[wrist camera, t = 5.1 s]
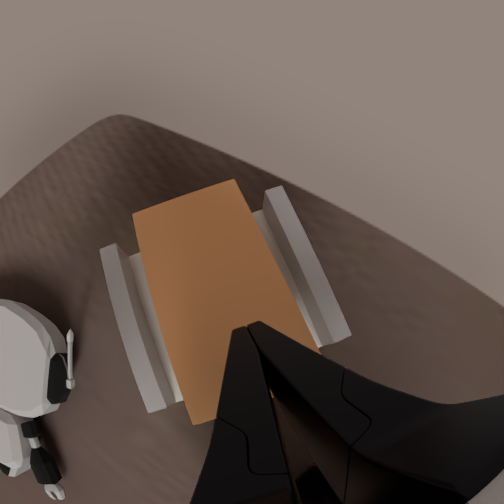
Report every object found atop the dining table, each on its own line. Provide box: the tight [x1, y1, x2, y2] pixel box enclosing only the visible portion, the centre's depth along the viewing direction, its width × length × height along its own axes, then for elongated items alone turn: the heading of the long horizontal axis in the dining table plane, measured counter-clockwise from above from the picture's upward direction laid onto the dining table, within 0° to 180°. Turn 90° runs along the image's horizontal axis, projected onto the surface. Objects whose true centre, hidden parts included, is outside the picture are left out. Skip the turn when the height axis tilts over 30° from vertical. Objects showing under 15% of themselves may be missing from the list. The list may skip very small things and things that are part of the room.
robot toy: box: [0, 299, 75, 500], centre depth 16 cm, size 12×4×15 cm
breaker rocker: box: [132, 179, 321, 425], centre depth 12 cm, size 9×5×2 cm, turn 22°
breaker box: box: [99, 185, 351, 413], centre depth 17 cm, size 8×12×10 cm, turn 112°
